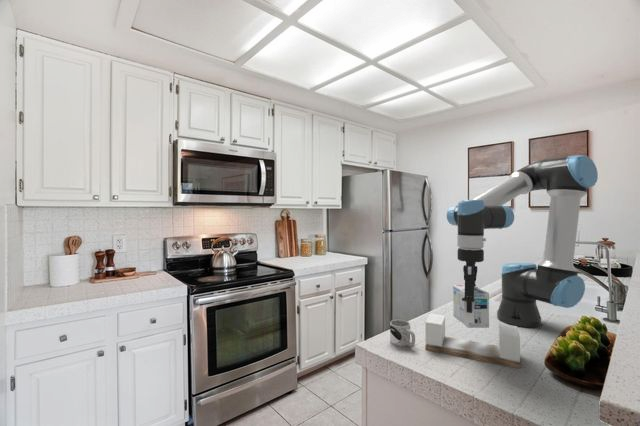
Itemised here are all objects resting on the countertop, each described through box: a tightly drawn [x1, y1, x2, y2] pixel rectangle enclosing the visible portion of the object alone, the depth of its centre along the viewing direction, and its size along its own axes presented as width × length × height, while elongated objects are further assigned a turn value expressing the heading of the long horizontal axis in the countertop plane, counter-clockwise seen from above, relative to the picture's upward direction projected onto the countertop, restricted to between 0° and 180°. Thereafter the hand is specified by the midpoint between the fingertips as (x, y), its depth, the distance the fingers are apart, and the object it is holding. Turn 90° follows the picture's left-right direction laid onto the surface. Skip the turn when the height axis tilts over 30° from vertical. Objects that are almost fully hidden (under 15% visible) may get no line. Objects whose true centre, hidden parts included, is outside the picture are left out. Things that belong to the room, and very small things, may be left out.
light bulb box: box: [452, 284, 490, 329], centre depth 99 cm, size 11×7×11 cm, turn 1°
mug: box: [389, 319, 416, 348], centre depth 105 cm, size 10×7×7 cm, turn 28°
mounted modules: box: [425, 313, 521, 362], centre depth 99 cm, size 26×9×7 cm, turn 62°
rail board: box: [425, 336, 521, 369], centre depth 99 cm, size 26×10×2 cm, turn 62°
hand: (470, 315), depth 99 cm, fingers closed on light bulb box, 12 cm apart
